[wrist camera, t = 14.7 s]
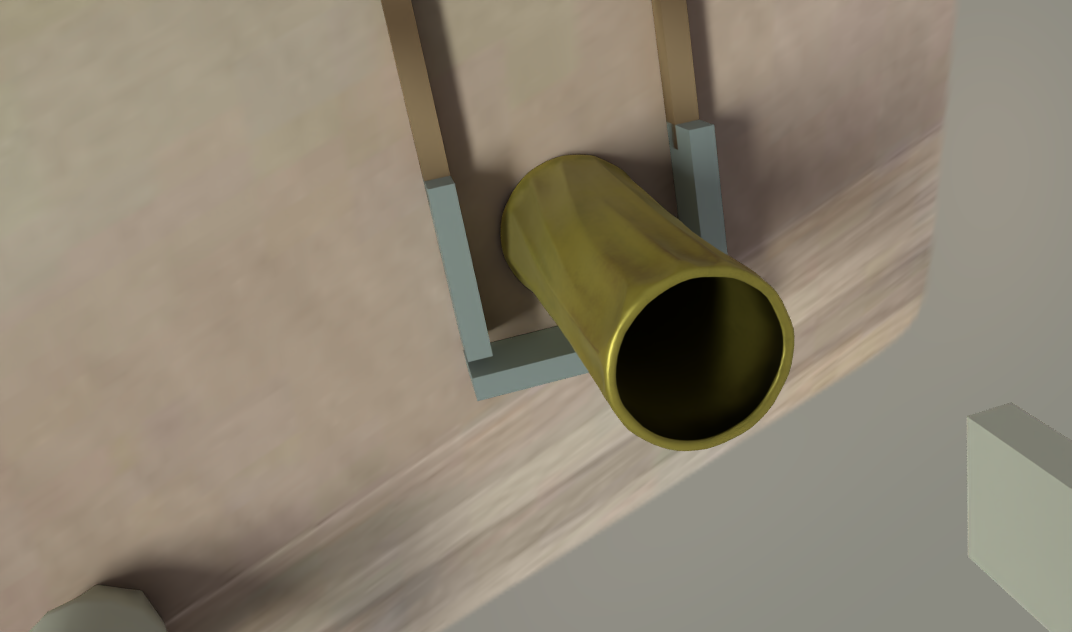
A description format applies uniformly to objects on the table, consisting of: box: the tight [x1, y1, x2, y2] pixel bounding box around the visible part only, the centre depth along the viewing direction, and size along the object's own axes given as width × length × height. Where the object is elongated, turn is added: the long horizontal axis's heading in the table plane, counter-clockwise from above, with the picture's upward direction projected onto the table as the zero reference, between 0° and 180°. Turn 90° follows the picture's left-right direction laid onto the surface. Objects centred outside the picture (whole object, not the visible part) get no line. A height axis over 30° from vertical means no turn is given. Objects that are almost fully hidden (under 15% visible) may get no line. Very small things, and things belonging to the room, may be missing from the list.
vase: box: [501, 155, 794, 451], centre depth 29 cm, size 6×6×14 cm
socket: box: [422, 120, 727, 401], centre depth 34 cm, size 8×11×3 cm
